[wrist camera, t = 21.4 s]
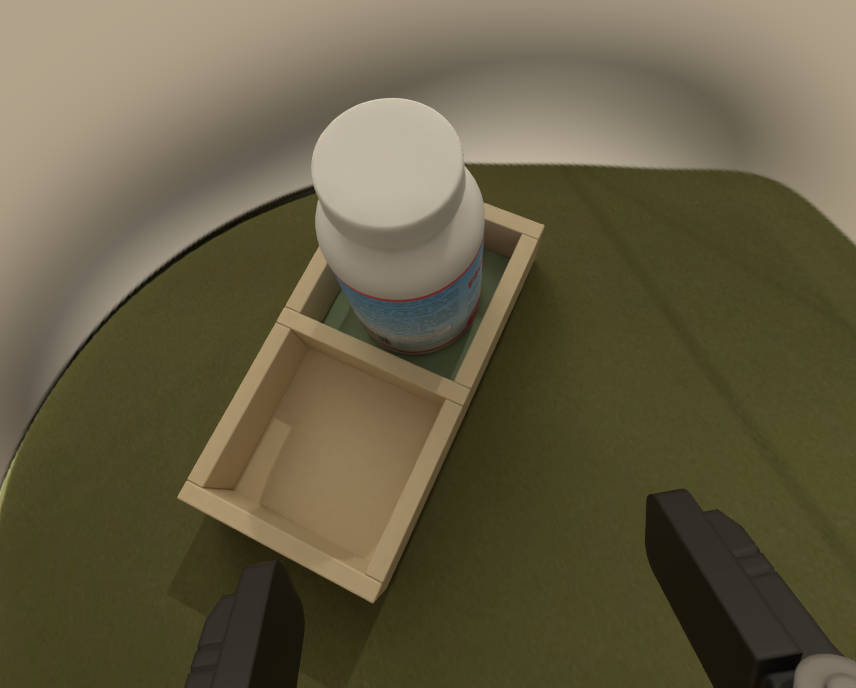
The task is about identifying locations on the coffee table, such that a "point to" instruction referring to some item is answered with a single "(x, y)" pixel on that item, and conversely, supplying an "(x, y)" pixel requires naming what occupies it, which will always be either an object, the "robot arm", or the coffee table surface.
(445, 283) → the pill bottle
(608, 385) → the coffee table surface
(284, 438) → the holder
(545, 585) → the coffee table surface
